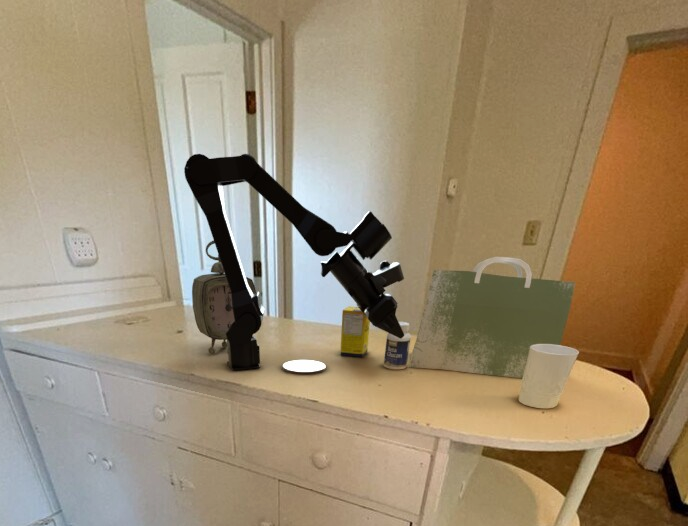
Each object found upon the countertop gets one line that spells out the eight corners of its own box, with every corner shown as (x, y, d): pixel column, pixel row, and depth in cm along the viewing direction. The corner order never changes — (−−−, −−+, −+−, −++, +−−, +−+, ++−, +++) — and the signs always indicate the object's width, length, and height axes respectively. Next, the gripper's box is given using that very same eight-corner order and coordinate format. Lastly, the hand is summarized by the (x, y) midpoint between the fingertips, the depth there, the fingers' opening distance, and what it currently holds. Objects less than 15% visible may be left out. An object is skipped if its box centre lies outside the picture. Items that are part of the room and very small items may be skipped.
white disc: (291, 376, 94) (291, 373, 93) (277, 364, 101) (277, 361, 101) (332, 372, 97) (332, 369, 96) (315, 360, 105) (315, 358, 104)
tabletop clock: (207, 356, 107) (194, 240, 93) (195, 348, 113) (182, 239, 100) (259, 349, 113) (254, 240, 99) (245, 342, 119) (239, 239, 106)
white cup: (507, 395, 84) (521, 343, 79) (545, 395, 85) (561, 343, 80) (528, 410, 78) (545, 354, 72) (568, 409, 78) (589, 354, 73)
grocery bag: (544, 364, 104) (578, 256, 91) (555, 381, 93) (596, 260, 80) (411, 353, 111) (426, 251, 99) (407, 367, 100) (423, 255, 88)
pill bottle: (382, 369, 99) (387, 324, 94) (384, 362, 104) (389, 320, 98) (406, 370, 98) (412, 326, 93) (407, 364, 103) (413, 321, 97)
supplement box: (367, 352, 112) (371, 307, 106) (362, 357, 107) (366, 311, 101) (345, 350, 114) (348, 305, 108) (339, 355, 109) (342, 309, 103)
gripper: (392, 249, 80) (439, 313, 86) (375, 244, 95) (416, 299, 102) (347, 294, 84) (396, 352, 90) (338, 283, 99) (380, 333, 106)
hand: (398, 332), depth 97 cm, fingers open, 9 cm apart
